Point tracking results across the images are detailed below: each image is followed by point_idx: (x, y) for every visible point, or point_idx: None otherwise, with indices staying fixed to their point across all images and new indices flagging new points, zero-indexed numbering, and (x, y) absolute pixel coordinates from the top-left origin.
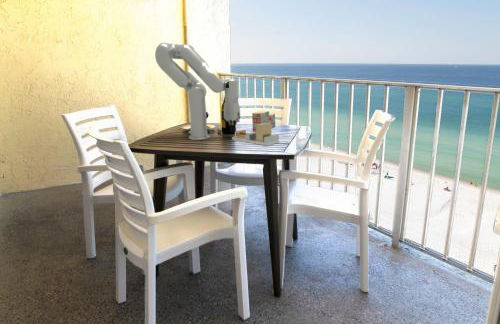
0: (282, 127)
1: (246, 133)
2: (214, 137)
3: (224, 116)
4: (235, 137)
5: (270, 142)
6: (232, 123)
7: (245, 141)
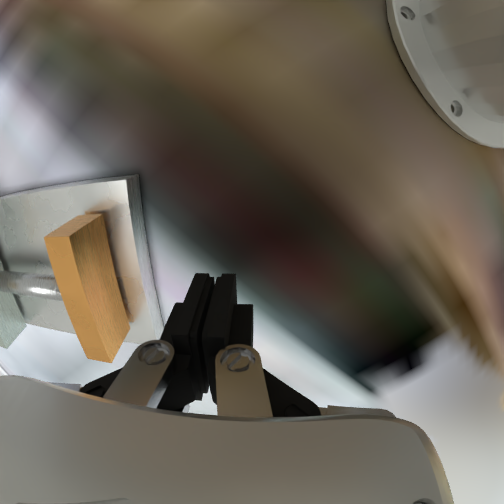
0: None
1: (21, 281)
2: (404, 143)
3: (407, 485)
4: (88, 193)
5: None
6: (145, 365)
7: (8, 195)
